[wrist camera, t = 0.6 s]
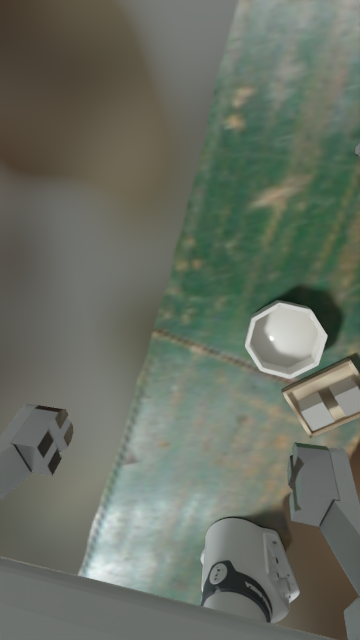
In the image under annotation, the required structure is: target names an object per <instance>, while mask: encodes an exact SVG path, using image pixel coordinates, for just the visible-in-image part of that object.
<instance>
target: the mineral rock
mask: <svg viewBox="0 0 360 640" xmlns="http://www.w3.org/2000/svg"><path fill="white" fill-rule="evenodd" d="M354 153H355V155H356V156H359V157H360V143H359V144H357V146H356V148H355V152H354Z"/></svg>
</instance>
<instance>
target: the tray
mask: <svg viewBox="0 0 360 640" xmlns="http://www.w3.org/2000/svg"><path fill="white" fill-rule="evenodd" d="M349 376H350V377H351V379H352V380H353V381H354V382H355V384H356V385H357V386H358V388H359V390H360V374H359V372H358V371H357V369H356V368H355V366H354V364H353V363H352V361H351V360H350V359H349V358H348V357H347V358H345V359H343V360H341V361H339V362H337V363H335V364H333V365H331V366H329V367H327V368H325V369H323V370H321V371H318V372H316V373H314V374H312V375H310V376H308V377H306V378H304V379H302V380H300V381H298V382H296V383H294V384H292V385H290V386H288V387H286V388H283V389H281V390H282V394H283V395H284V397H285V399H286V400H287V402H288V403H289V405H290V406H291V408H292V410H293V411H294V413H295V414H296V416H297V417H298V419H299V421H300V422H301V424H302V425H303V427H304V429H305V430H306V432H307V433H308V435H309V436H310V438H312V437H314V436H316V435H319V434H321V433H323V432H326V431H328V430H330V429H333V428H335V427H338V426H340V425H342V424H345V423H347V422H349V421H352V420H354V419H356V418H359V417H360V411H359V412H356V413H354V414H352V415H349V416H347V417H346V415H345V414H344V412H343V410H342V409H341V407H340V406H339V404H338V402H337V401H336V399H335V398H334V396H333V394H332V392H331V391H330V389H329V387H328V386H330V385H332V384H334V383H336V382H339V381H341V380H343V379H345V378H347V377H349ZM317 391H318V393H319V394H320V396H321V397H322V399H323V401H324V402H325V404H326V405H327V407H328V409H329V410H330V412H331V414H332V417H333V419H334V421H335V422H333V423H331V424H328V425H326V426H324V427H321V428H319V429H317V430H314V431H312V429H311V427H310V426H309V424H308V423H307V421H306V419H305V418H304V416H303V415H302V413H301V411H300V408H299V404H298V400H300V399H302V398H304V397H306V396H309V395H311V394H313V393H315V392H317Z"/></svg>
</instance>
